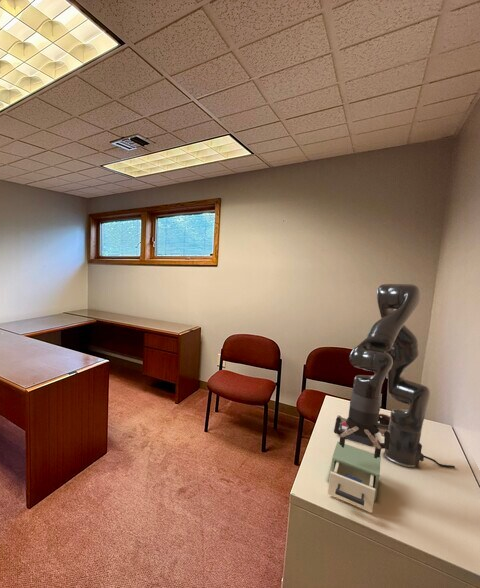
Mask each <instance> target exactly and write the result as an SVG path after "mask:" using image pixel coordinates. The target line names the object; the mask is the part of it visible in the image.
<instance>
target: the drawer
mask: <svg viewBox="0 0 480 588" xmlns="http://www.w3.org/2000/svg"><path fill="white" fill-rule="evenodd" d="M330 471H331V470H330ZM330 471H329V472H330ZM345 474H347V475H350V476H352V477H355V478H358V479H360V480H362V482H361V483H360V482H357V481H355V480H352V479H350V478H347V477H345ZM329 478H330V479H328V487H327V495H329V496H332V497H334V498H337V499H339V500H341V501H343V502H346V503H348V504H350V505H351V506H352V505H353V506H354V507H357V508H359V509H362V510H364V511H366V512H369V513H371V514H373V511H374V503H375V501H374V498H375V491H376V489H375V488H373V480H374V475H372V474H370V473H367V472H364V471H361V470H359V469H356V468H353V467H351V466H348V465H345V464H343V463H340V462H336V465H335V469H334V472H332V471H331V472H330V473H329Z"/></svg>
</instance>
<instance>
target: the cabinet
mask: <svg viewBox="0 0 480 588" xmlns="http://www.w3.org/2000/svg"><path fill="white" fill-rule="evenodd" d="M339 442H340V441H339V440H338V441H337V442H336V445H335V448H334V451H333V454H332V457H331V464H330V471H329V472H331V471H332V472H334V469H335V465H336V462H340V463H343V464H345V465H348V466H351V467H353V468H356V469H359V470H361V471H364V472H367V473H370V474H372V475H374V480H373V488H375V489H376V491H375V498H374V502H376V499H377V494H378V488H379V482H380V473H381V459H382V457H381V455H380V457H379V458H378V457H377V459H376V458H374V453H375V452H374V453H373V452H370V451H368V450H364V449H361V448H359V447H356V446H353V445H349V444H347V443H345V445H344V448H343V447H341V446H342V445H340V444H339ZM329 479H330V477H329ZM329 479H328V480H329Z"/></svg>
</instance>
